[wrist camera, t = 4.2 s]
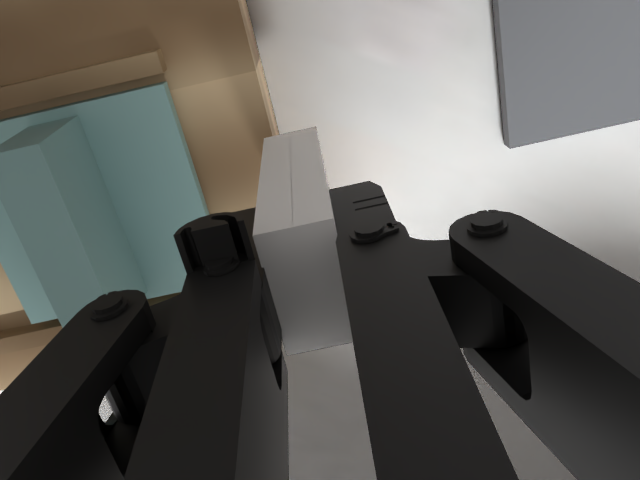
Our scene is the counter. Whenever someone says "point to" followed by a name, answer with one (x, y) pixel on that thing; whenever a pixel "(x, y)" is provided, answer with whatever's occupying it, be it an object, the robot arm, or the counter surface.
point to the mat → (566, 66)
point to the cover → (95, 200)
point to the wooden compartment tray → (132, 72)
